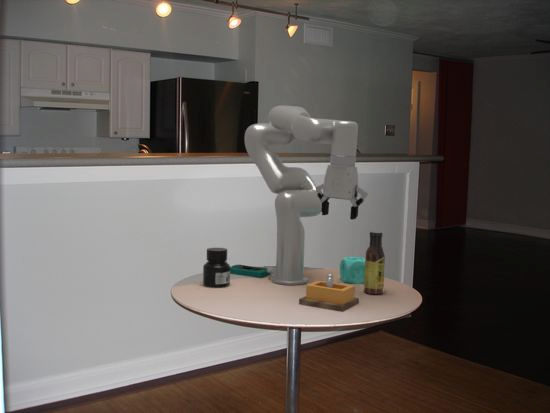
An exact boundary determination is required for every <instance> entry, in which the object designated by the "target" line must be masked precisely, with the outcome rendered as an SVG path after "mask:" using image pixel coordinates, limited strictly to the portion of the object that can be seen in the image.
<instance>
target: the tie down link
mask: <svg viewBox="0 0 550 413" xmlns="http://www.w3.org/2000/svg"><path fill="white" fill-rule="evenodd" d="M355 289H356V286H355V285H350V284H344V283H337V282H333V288H329V287H326V280H325V281H324V280H317V281H314V282H312V283H309V284H306V293H305V294H306V295H305V296H306V299H312V300H318V301H324V302H330V303H336V304H342V305H344V304H346V303H348V302H349V301H351V300H353V299H354V297H355Z"/></svg>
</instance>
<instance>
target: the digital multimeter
mask: <svg viewBox="0 0 550 413" xmlns="http://www.w3.org/2000/svg"><path fill="white" fill-rule="evenodd" d="M267 268H268V267H260V266H259V267H257V266H252V265H245V264H234V265H232V266H230V275H237V276H245V277H251V278H258V279H262V278H266V277H269V276H271V275H272V273H267Z"/></svg>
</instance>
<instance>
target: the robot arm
mask: <svg viewBox="0 0 550 413" xmlns="http://www.w3.org/2000/svg"><path fill="white" fill-rule="evenodd" d="M268 122H269V123H268ZM268 122H267V123H264V122H260V123H258V122H257V123H254V124H251V125H249V126H248V127H247V128H246V130H245V133H244V146H245V150H246V152H247V154H248V156H249V158H250V159H251V161H252V162H253V163H254V165H255V166H256V168H257V169H258V171H259V173H260V174H261V176H262V178H263V180H264V182H265V183H266V186H267V187H268V189H269V190H270V192H271V193H273V194H276V196H275V199H274V209H275V216H276V256H275V257H276V259H275V260H276V264H275V266H274V267H273V266H268V267H266V268H267V273H271V274H272V276H271V278H270V279H271V282H273V283H275V284H277V285H286V286H287V285H288V286H296V285H297V286H298V285H304V284H306V283H308V281H309V279H308V277H307V276H304V273H305V272H304V269H305V268H304V266H305V240H306V239H305V238H306V237H305V234H306V233H305V227H304V225H303V223H302V220H301V218H311V217H316V216H318V215H320V214H321V215H322V216H328V215H329V211H330V210H329V209H330V202H329V200H330V199H335V200H336V199H337V200H342V201H343V200H345V201H350V203H351V205H352V206H351V207H350V217H349V219H350V220H352V221H353V220H356V219H357V217H358V216H359V206H361V205H362V204H363V203H364V202H365V201H366V198H367V196H368V192H366V191H365V190H364V189H362V188H361V187H360V186H359V171H358V167H357V166H356V161H357V160H356V158H357V147H358V133H359V125H358V123H357V122H356V121H352V120H339V119H329V118H312V117H311V114H310V113H308V111H307V109H305V108H304V107H301V106H295V105H284V104H283V105H277V106H273V107H272V108H271V110H269V113H268ZM295 140H301V141H303V142H307V143H309V144H310V143H311V144H330V145H331V153H330V156H327V158H326V161H328V162H329V164H328V165H327V166H326V167H327V168H326V171H325V175H324V179H323V180H324V181H323V183H322V184H320V185H316V184H315V182H314V180H313V179H312V177H311V175H310V173H308V171H307V170H305V169H304V168H301V167H296V166H295V167H294V166H291V167H290V166H286V165H284V163H283V161H282V160H281V158H280V156H279V155H278V154H277V153H276V152H274V150H272V149H270V148H286V147H288V146H290V145H291V144H292V143H293V142H294V141H295ZM358 195H360V197H359V198H358Z"/></svg>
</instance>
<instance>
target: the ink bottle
mask: <svg viewBox="0 0 550 413" xmlns="http://www.w3.org/2000/svg"><path fill="white" fill-rule="evenodd" d="M206 260H207V261H206V263H204V265H203V268H202V269H203V270H202V285H203V286H205V287H209V288H225V287H227V286H229V285H230V284H231V274H230V267H231V266H230V264H229V263H228V248H224V247H208V248H207V249H206Z"/></svg>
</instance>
